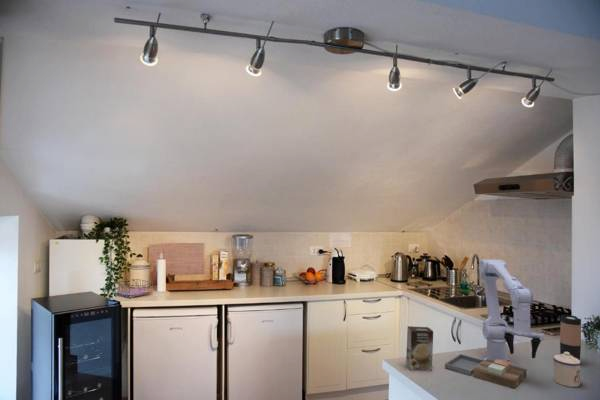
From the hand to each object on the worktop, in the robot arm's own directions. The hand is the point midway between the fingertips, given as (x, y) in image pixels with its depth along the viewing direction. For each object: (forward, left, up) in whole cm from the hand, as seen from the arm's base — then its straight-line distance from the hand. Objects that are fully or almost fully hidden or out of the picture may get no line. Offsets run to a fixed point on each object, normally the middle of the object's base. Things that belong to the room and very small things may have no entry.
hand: (522, 355), depth 160 cm
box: (+2, -21, -10) cm, 24 cm away
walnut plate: (+2, -8, -10) cm, 13 cm away
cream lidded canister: (-13, +12, -10) cm, 21 cm away
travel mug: (-37, +9, -10) cm, 40 cm away
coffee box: (+17, -35, -10) cm, 40 cm away
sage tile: (+6, -8, -7) cm, 12 cm away
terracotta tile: (-1, -8, -7) cm, 10 cm away
